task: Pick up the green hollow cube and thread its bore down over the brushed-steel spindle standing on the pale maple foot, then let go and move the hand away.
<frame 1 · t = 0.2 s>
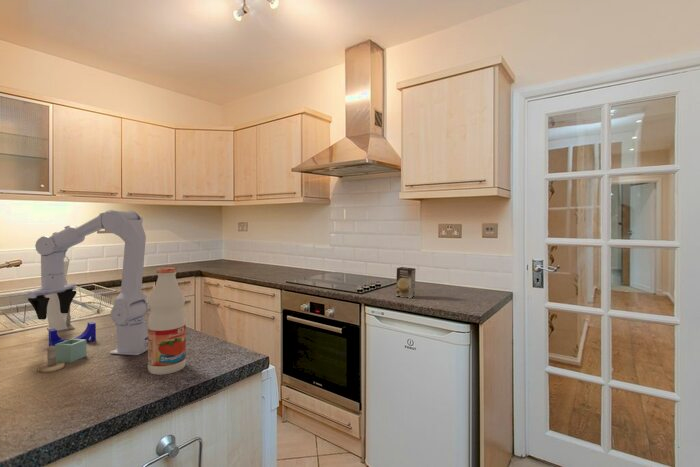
hand: (53, 316, 117), 10 cm above the countertop, fingers open, 7 cm apart
spindle: (51, 368, 100), on the countertop
fruit juice: (167, 369, 101), on the countertop
coffee box: (405, 297, 202), on the countertop
green hollow cube: (71, 358, 107), on the countertop
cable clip: (73, 345, 120), on the countertop
skyscraper: (59, 330, 135), on the countertop
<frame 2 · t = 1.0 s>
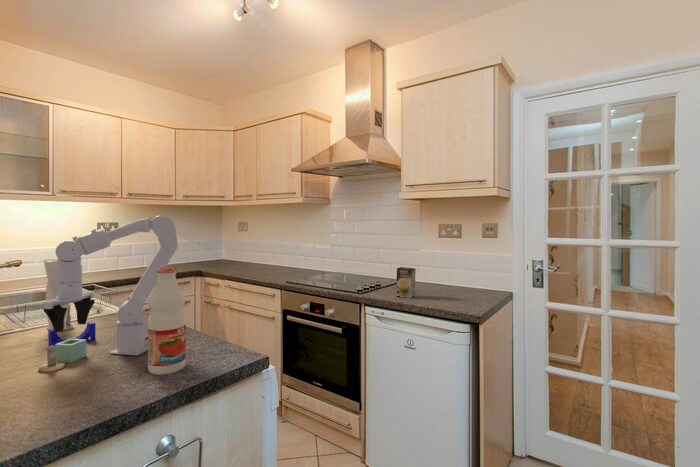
hand: (70, 327, 107), 9 cm above the countertop, fingers open, 7 cm apart
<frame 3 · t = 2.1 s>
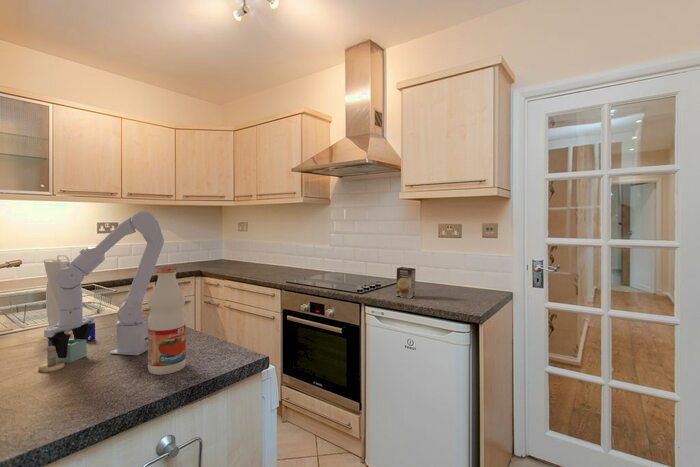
hand: (71, 353, 107), 1 cm above the countertop, fingers closed on green hollow cube, 5 cm apart
green hollow cube: (71, 358, 107), on the countertop, touching gripper
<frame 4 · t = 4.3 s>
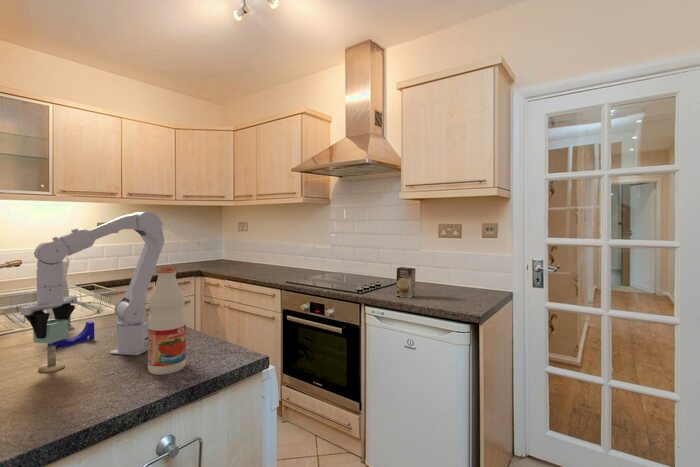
hand: (51, 334, 100), 9 cm above the countertop, fingers closed on green hollow cube, 5 cm apart
green hollow cube: (51, 339, 100), point 8 cm above the countertop, touching gripper
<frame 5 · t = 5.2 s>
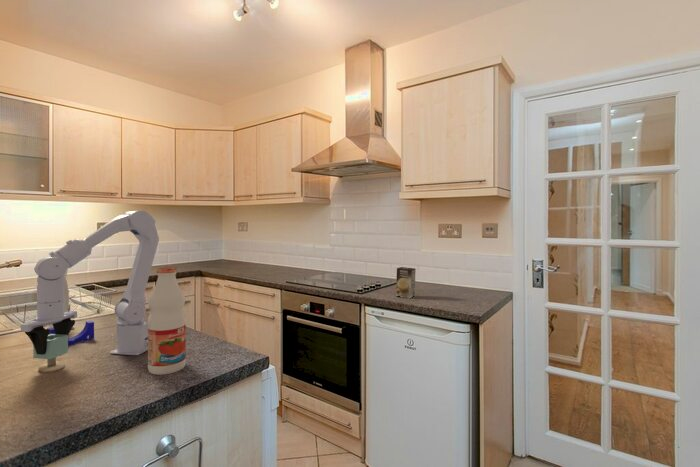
hand: (51, 350, 100), 5 cm above the countertop, fingers closed on green hollow cube, 5 cm apart
green hollow cube: (51, 355, 100), point 4 cm above the countertop, touching gripper
when the fingers open (3 cm above the countertop, at t = 6.2 s): green hollow cube stays where it is, resting on spindle.
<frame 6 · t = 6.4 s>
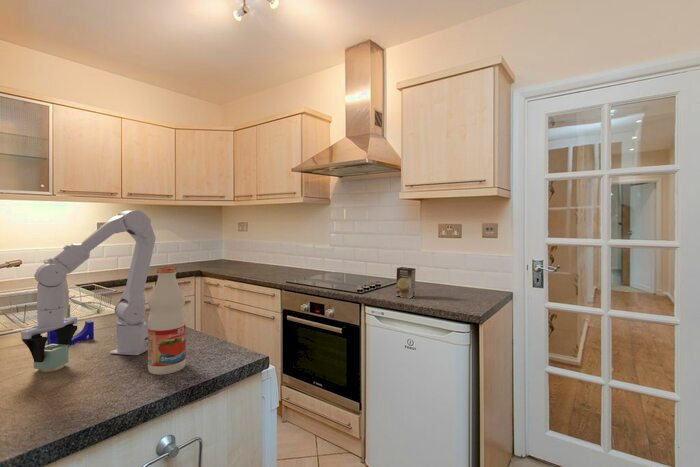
hand: (51, 356, 100), 3 cm above the countertop, fingers open, 7 cm apart
green hollow cube: (51, 365, 100), point 1 cm above the countertop, touching spindle
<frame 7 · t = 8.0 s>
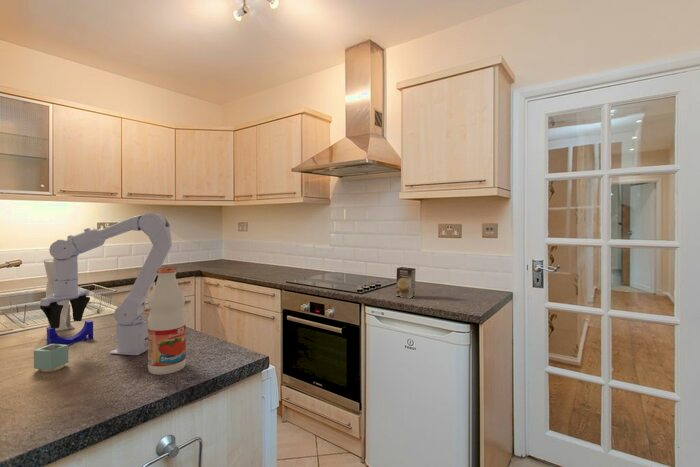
hand: (66, 324, 110), 9 cm above the countertop, fingers open, 7 cm apart
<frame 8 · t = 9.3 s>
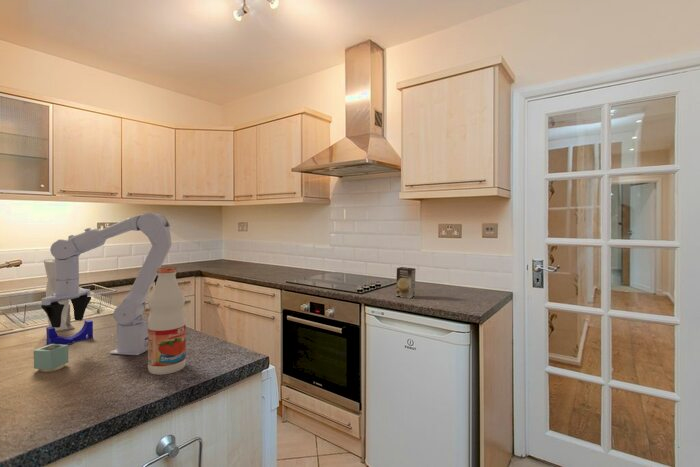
hand: (67, 323, 111), 9 cm above the countertop, fingers open, 7 cm apart
at the end: green hollow cube 0.1 cm off-centre on the spindle, point 0.8 cm above the spindle's base; the gripper is holding nothing; green hollow cube tilted 0° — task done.
